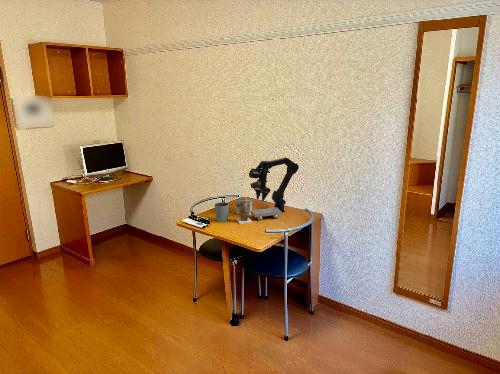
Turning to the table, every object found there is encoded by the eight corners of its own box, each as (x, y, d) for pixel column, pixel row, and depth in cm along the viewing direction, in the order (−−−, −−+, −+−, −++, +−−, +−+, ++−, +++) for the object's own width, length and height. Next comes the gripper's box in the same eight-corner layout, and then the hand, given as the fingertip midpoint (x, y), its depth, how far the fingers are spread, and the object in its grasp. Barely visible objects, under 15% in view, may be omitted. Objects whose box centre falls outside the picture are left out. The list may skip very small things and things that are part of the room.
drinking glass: (212, 220, 273) (211, 204, 270) (223, 216, 280) (222, 201, 277) (221, 223, 266) (220, 207, 263) (232, 220, 273) (231, 203, 270)
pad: (248, 218, 275) (248, 217, 275) (252, 222, 266) (252, 221, 266) (236, 220, 272) (236, 218, 272) (239, 224, 264) (239, 222, 264)
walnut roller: (246, 218, 272) (246, 200, 269) (248, 220, 268) (248, 202, 264) (239, 219, 271) (239, 201, 268) (241, 221, 266) (241, 203, 263)
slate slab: (276, 213, 284) (276, 207, 283) (281, 218, 274) (281, 211, 272) (250, 216, 279) (250, 210, 277) (254, 221, 268) (254, 214, 267)
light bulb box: (236, 214, 285) (235, 200, 282) (238, 211, 291) (238, 197, 289) (250, 214, 283) (250, 200, 280) (252, 212, 289) (252, 198, 286)
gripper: (247, 176, 281) (245, 197, 282) (257, 179, 263) (254, 201, 265) (261, 177, 285) (258, 198, 287) (272, 180, 268) (269, 202, 269)
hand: (260, 200), depth 277 cm, fingers open, 9 cm apart
